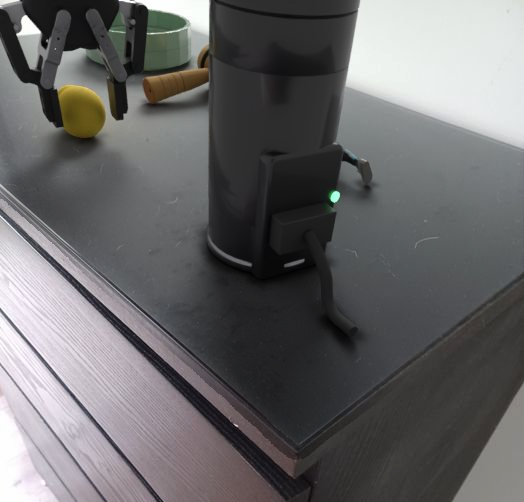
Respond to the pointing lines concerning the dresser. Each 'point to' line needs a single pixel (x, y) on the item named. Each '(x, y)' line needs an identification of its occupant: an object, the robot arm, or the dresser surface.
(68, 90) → the yellow lemon
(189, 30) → the bowl
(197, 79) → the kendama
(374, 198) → the dresser surface
